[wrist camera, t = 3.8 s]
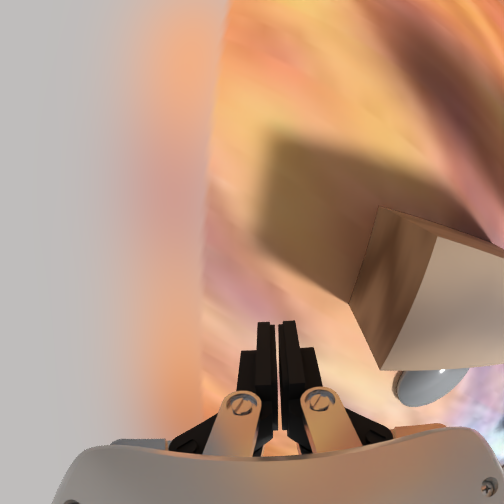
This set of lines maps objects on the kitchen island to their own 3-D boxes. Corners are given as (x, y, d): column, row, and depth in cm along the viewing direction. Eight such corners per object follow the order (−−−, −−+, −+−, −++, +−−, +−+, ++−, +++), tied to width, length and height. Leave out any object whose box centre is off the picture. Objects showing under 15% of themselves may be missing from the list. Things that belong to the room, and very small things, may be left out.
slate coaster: (410, 344, 19) (413, 348, 19) (482, 327, 19) (485, 330, 18) (386, 410, 22) (388, 414, 22) (453, 391, 21) (455, 394, 21)
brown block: (377, 205, 16) (437, 236, 9) (491, 242, 16) (546, 275, 9) (348, 303, 18) (379, 370, 12) (462, 317, 18) (504, 363, 12)
